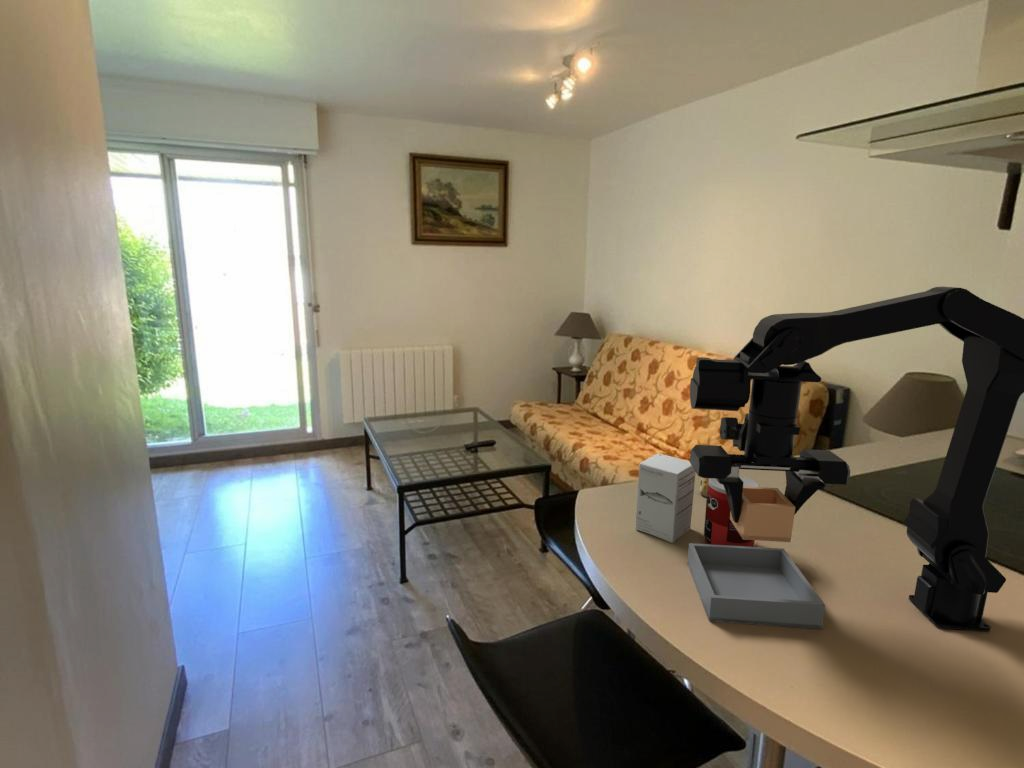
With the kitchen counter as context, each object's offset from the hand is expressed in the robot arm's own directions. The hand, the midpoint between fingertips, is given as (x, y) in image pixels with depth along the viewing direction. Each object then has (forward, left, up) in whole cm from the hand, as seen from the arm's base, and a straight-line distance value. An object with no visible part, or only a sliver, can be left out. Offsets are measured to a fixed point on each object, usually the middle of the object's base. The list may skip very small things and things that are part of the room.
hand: (759, 522), depth 74 cm
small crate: (0, 0, -1) cm, 1 cm away
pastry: (-5, -36, -12) cm, 38 cm away
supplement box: (+9, -19, -12) cm, 24 cm away
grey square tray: (0, -1, -11) cm, 11 cm away
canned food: (-1, -15, -12) cm, 19 cm away
